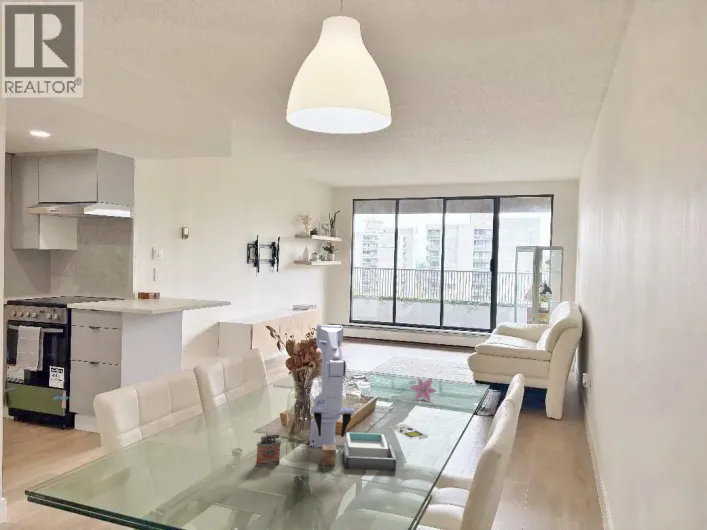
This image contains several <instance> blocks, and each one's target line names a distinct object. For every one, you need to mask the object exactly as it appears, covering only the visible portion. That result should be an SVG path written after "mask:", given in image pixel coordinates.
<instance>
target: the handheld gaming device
mask: <svg viewBox="0 0 707 530" xmlns="http://www.w3.org/2000/svg"><path fill="white" fill-rule="evenodd" d="M389 429H390V430H393V431H395V432H397V433H398V434H400V435H403V436H405V437H407V438H409V439H411V440H413V439H414V440H416V439H417V437H418V439H419V440H421V438H422V439H425V438H429V435H428V434H426V433H423V432H421V431H419V430H417V429H415V428H413V427H411V426H409V425H408V424H406V423H402V424H396V425H392V426H390V427H389ZM408 431H409V432H408Z"/></svg>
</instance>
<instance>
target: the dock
mask: <svg viewBox="0 0 707 530" xmlns="http://www.w3.org/2000/svg"><path fill="white" fill-rule="evenodd" d="M387 446H388V458H378V457H354V456H349V453H348V446H347V441H346V439H345V440H343V449H342V450H343V451H342V452H344V453H343V460H344V467H345V468H344V469H345V470H363V471H365V470H367V471H368V470H370V471H387V472H388V471H389V472H391V471H393V472H394V471H395V472H396V471H397V470H396V469H397V457H396V454H395V452H394V448H393V446H392V442H387Z"/></svg>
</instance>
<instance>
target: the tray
mask: <svg viewBox="0 0 707 530" xmlns="http://www.w3.org/2000/svg"><path fill="white" fill-rule="evenodd" d="M345 432H346V436H345V441H347V446H348V453H349V456H354V457H378V458H388V442H387V440H386V437H385V434H384V433H375V432H373V433H372V432H351V431H349V432H348V431H345Z"/></svg>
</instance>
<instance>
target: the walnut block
mask: <svg viewBox="0 0 707 530" xmlns="http://www.w3.org/2000/svg"><path fill="white" fill-rule="evenodd" d="M336 457H337V446H336V445H329V444H323V445H322V449H321V459H320V460H321V465H322V466H336Z"/></svg>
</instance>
